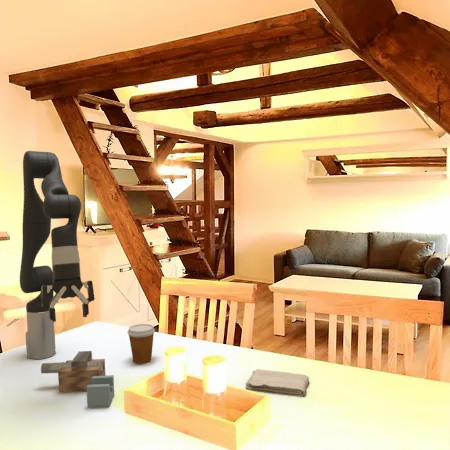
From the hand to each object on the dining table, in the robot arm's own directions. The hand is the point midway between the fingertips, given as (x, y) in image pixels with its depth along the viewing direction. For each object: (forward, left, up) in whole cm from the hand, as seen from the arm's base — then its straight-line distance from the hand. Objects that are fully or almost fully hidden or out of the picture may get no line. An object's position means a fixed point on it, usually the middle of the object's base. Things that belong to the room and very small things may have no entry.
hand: (69, 319), depth 128 cm
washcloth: (+60, +3, -24) cm, 65 cm away
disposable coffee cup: (+16, +28, -24) cm, 40 cm away
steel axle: (-3, +9, -19) cm, 21 cm away
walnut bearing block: (0, +9, -24) cm, 25 cm away
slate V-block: (+8, -2, -24) cm, 25 cm away
